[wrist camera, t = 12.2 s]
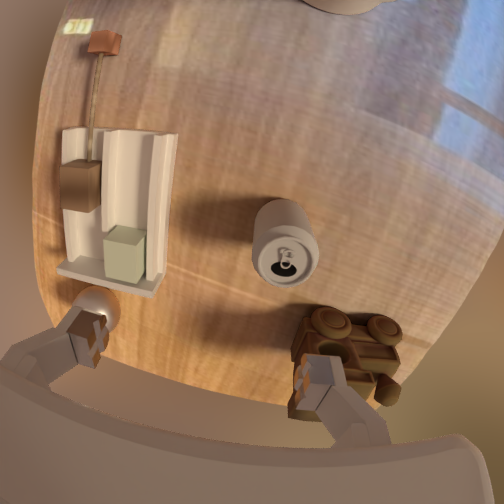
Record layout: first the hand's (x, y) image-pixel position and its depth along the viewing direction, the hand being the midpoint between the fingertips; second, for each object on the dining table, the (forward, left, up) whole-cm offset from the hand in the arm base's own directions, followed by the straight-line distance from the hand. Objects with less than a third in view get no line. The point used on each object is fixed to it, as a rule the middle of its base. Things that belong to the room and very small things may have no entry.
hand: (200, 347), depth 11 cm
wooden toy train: (+24, +22, -31) cm, 45 cm away
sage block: (+13, -15, -29) cm, 35 cm away
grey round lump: (+26, -22, -31) cm, 46 cm away
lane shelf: (+7, -18, -31) cm, 37 cm away
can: (+6, +6, -31) cm, 33 cm away
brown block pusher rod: (-6, -22, -31) cm, 38 cm away
